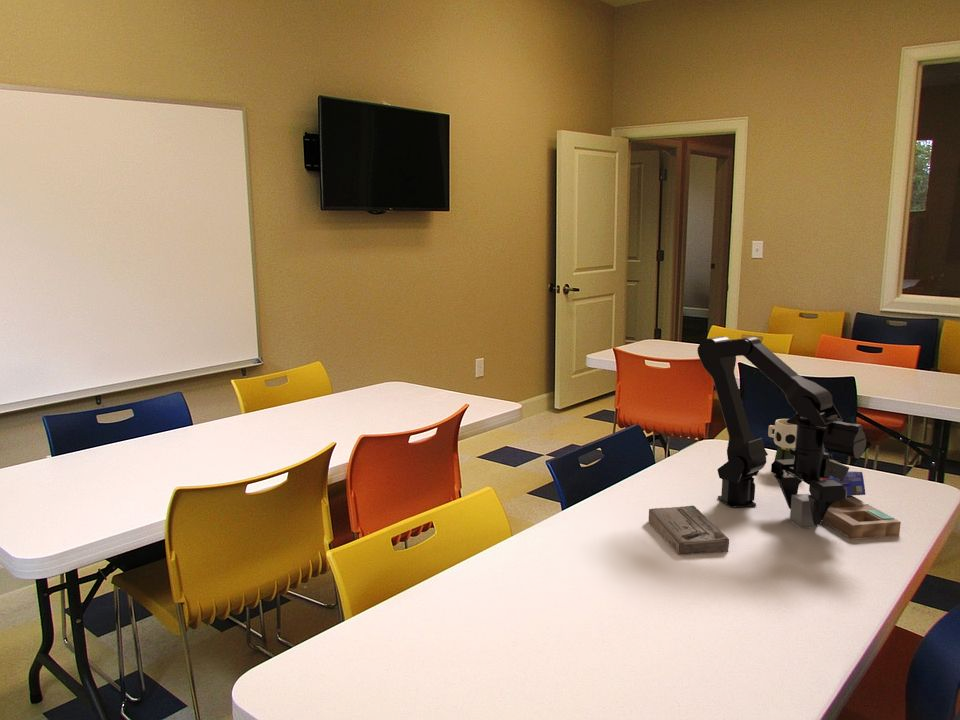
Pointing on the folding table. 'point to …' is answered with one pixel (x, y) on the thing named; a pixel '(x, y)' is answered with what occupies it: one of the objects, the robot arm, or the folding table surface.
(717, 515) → the folding table surface
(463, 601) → the folding table surface
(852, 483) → the ink cartridge box
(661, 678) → the folding table surface
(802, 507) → the plug
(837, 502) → the socket block
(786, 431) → the character mug
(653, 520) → the box
